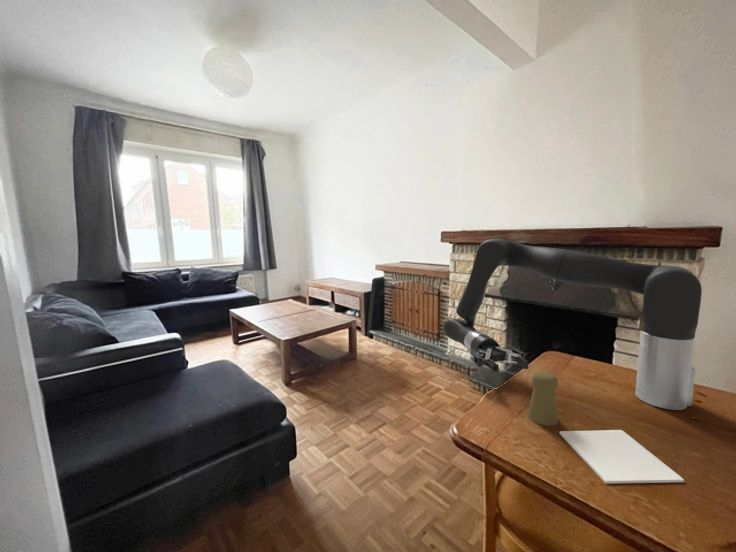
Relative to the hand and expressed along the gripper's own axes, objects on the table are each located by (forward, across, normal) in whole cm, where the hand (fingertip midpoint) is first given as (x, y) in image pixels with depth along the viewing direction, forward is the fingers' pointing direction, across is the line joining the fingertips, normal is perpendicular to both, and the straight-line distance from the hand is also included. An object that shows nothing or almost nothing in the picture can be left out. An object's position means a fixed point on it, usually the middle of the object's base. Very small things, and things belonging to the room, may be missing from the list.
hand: (512, 367), depth 80 cm
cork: (+11, 0, +7) cm, 14 cm away
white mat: (+24, +5, +7) cm, 26 cm away
